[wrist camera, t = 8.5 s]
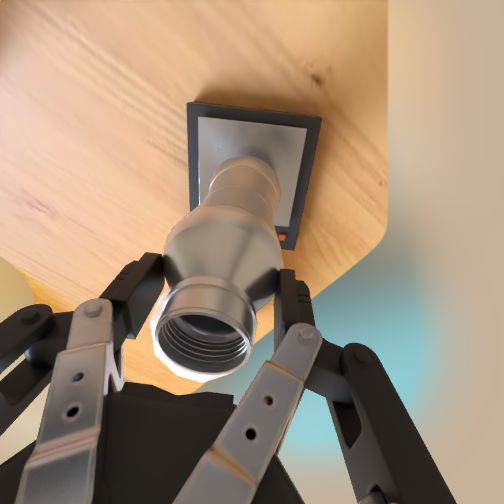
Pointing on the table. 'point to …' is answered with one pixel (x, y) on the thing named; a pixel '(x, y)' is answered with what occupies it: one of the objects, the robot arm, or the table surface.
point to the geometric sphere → (173, 367)
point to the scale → (311, 122)
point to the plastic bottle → (221, 269)
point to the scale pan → (252, 153)
